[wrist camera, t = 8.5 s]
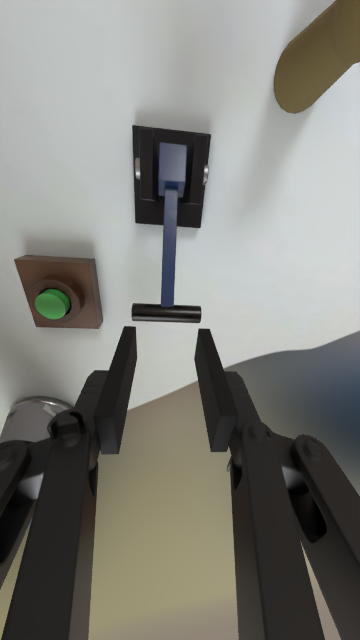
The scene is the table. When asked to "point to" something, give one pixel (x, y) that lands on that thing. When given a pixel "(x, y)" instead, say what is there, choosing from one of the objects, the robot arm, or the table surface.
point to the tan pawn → (318, 56)
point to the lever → (169, 240)
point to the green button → (52, 304)
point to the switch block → (63, 289)
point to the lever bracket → (146, 175)
